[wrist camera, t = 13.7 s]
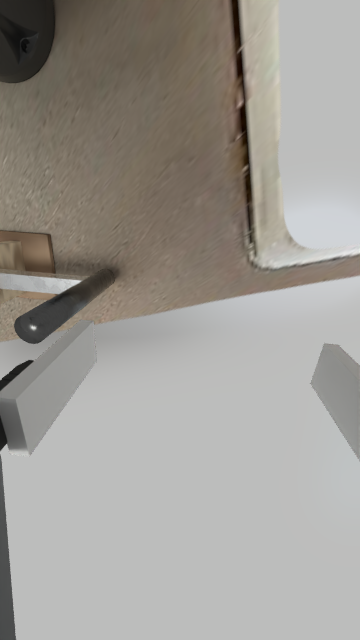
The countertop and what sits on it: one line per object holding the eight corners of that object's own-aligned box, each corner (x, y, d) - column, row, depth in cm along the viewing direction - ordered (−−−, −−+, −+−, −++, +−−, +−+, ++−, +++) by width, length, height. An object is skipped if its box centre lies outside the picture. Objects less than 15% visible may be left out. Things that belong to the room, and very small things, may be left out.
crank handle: (12, 260, 43) (-140, 299, 24) (114, 269, 42) (42, 316, 23) (15, 277, 44) (-126, 327, 25) (115, 286, 44) (47, 345, 24)
